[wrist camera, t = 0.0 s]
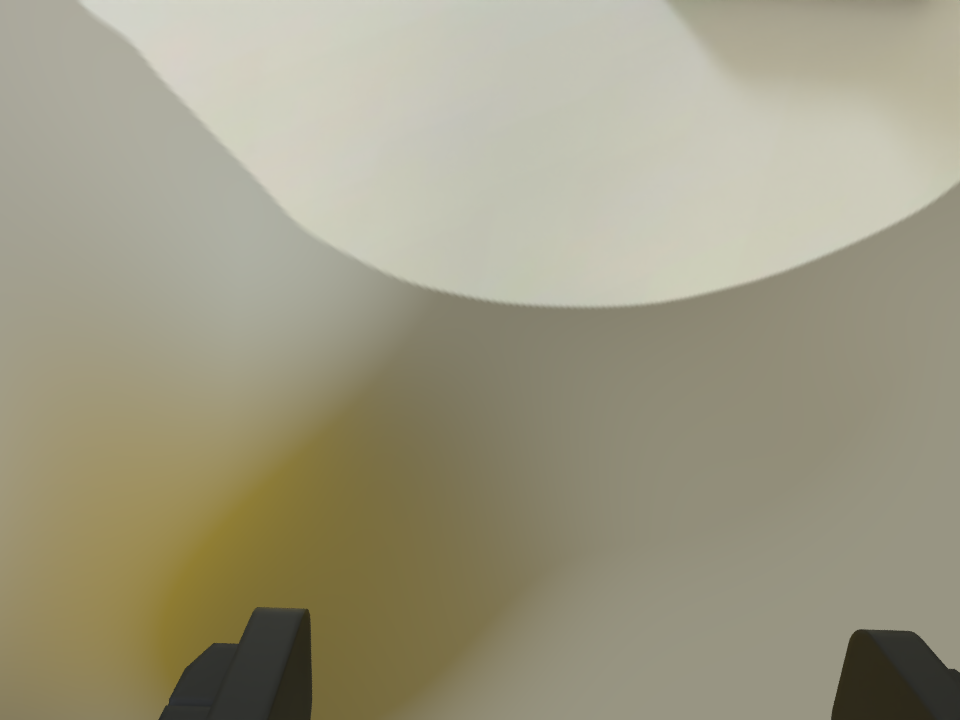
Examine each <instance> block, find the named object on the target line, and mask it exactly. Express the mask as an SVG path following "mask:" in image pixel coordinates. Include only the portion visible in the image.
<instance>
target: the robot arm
mask: <svg viewBox="0 0 960 720" xmlns="http://www.w3.org/2000/svg"><path fill="white" fill-rule="evenodd" d="M311 707H312V668H311V625H310V613H309V610H308V609H296V608H269V607H257V608H256V609H255V610H254V611H253V613H252V615H251V617H250V619H249V622H248V624H247V626H246V628H245V631H244V633H243V636H242V637H241V640H240V642H239V644H227V643H213V644H212V645H211V646H210V647H209V648H208V649H206V650H205V651H204V652H203V653H202V654H201V655H200V656H199V657H198V658H197V659H195V660H194V661H193V662H192V663H191V664H190V665H189V666H187V667H186V668H185V670H184V672H183V674H182V676H181V678H180V679H179V681H178V683H177V685H176V687H175V689H174V691H173V693H172V695H171V697H170V699H169V704H168V706H165V708H164V710H163V712H162V714H161V716H160V718H159V720H310V718H311V709H312V708H311ZM831 720H960V673H959V672H958V671H957V670H955V669H948V668H947V667H946V666H945V665H944V664H943V663H942V661H941V660H940V659H939V658H938V657H937V656H936V655H935V654H934V652H933V651H932V650H931V649H930V648H929V647H928V646H927V644H926V643H925V642H924V641H923V640H922V639H921V638H920V637H919V636H918V635H917V634H915V633H914V632H911V631H893V630H862V629H861V630H857V631H855V632H854V633H853V634H852V636H851V638H850V640H849V644H848V648H847V652H846V656H845V660H844V664H843V668H842V673H841V677H840V681H839V685H838V689H837V693H836V697H835V701H834V705H833V710H832V717H831Z"/></svg>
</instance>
